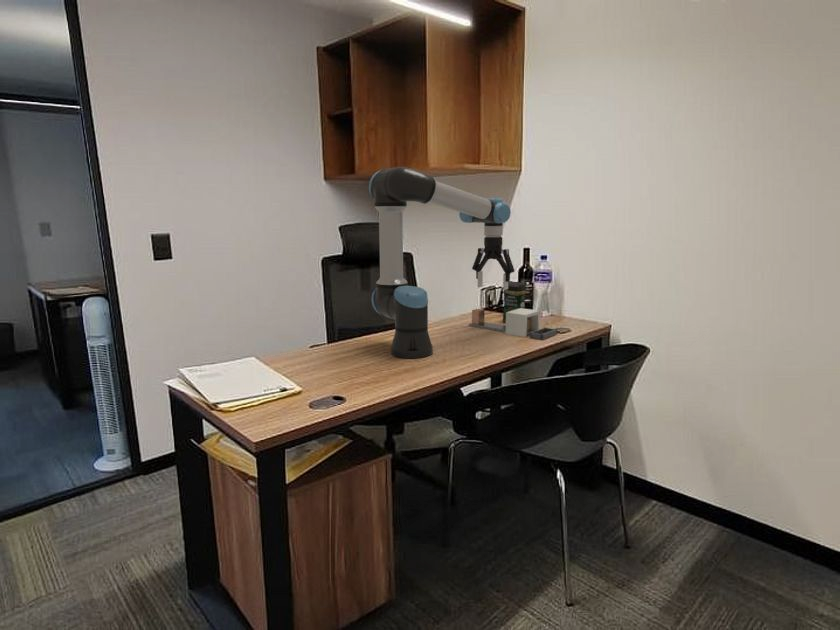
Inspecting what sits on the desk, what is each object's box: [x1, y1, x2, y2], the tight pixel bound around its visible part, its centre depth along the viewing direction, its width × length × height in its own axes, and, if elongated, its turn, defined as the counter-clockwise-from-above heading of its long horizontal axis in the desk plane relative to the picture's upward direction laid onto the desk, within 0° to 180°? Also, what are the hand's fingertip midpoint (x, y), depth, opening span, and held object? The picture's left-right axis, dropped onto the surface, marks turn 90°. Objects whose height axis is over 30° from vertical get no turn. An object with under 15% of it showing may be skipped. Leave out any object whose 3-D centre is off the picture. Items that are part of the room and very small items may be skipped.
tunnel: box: [505, 308, 541, 338], centre depth 211 cm, size 11×9×9 cm
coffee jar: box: [502, 281, 527, 324], centre depth 229 cm, size 10×8×19 cm
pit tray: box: [529, 327, 558, 341], centre depth 205 cm, size 12×6×2 cm, turn 139°
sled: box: [468, 308, 534, 336], centre depth 218 cm, size 7×28×7 cm, turn 49°
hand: (492, 288), depth 218 cm, fingers open, 12 cm apart
